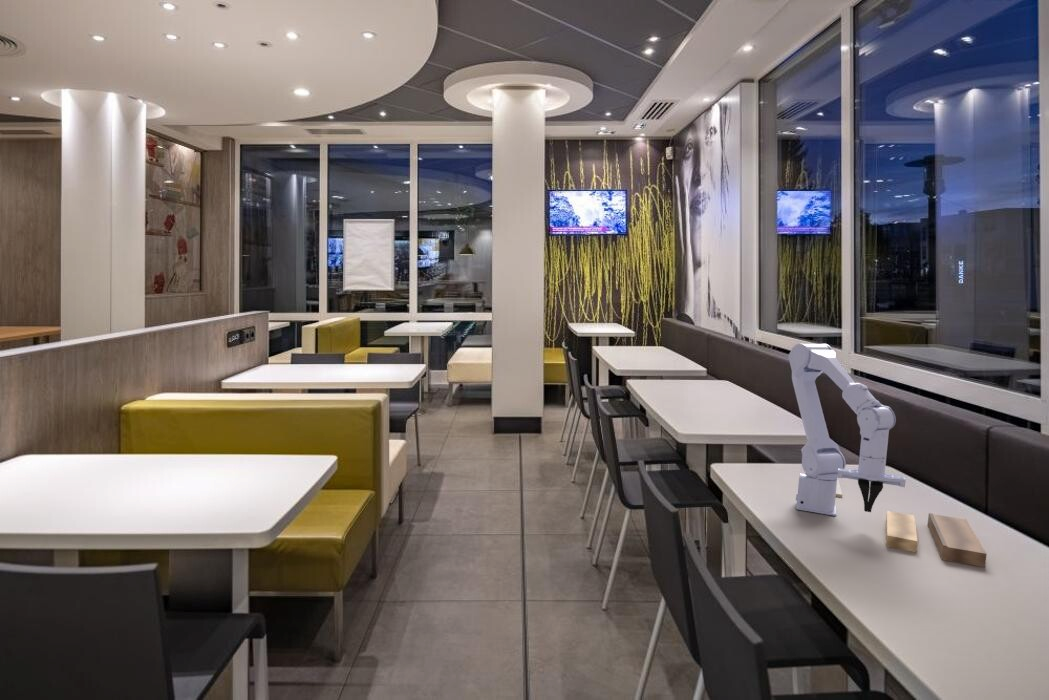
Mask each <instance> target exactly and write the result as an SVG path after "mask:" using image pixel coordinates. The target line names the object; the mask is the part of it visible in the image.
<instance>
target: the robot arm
mask: <svg viewBox="0 0 1049 700" xmlns="http://www.w3.org/2000/svg"><path fill="white" fill-rule="evenodd" d="M787 357H788V361H789V365H790V368H791V381H792V386H793V389H794V393H795V398H796V402H797V405H798V409H799V413H800V418H801V422H802V426H803V428H804V433H805V437H806V444H804V446H802V448H801V449H800V451H801V452H800V453H801V467H802V470H803V471H804V473H801V472H800V473H799V476H798V485H797V493H795V495H796V496H795V501H796V508H795V509H796V510H798V511H799V510H800V511H803V512H804V511H805V512H811V513H816V514H817V513H818V514H823V515H829V516H834V517H835V516H837V506H836V498H837V497H836V488H837V478H838V479H849V480H857V485H858V488H859V489H860V493H861V496H862V499H863V509H864V512H867V513H872V510H873V506H874V504H875V501H876V500H877V497H879V494H880V493H881V492H882V491H883V489H884V484H885V485H890V486H898V487H900V488H905V487H906V481H907V479H906V477H903V476H897V475H893V474H888V473H886V466H887V465H886V464H887V454H888V453H887V452H888V445H889V444H888V443H889V434H890V433H889V432H890V430H891V429H892V428H894V427H895V425H896V421H897V419H896V418H897V417H896V415H895V412H894V411H893V409H892V408H891V407H890V406H887V405H884V404H882V403H881V402H880V401H879V400H877V399H876V398H875V396H874V395H873V394H872V393H871V392H870V390H869V387H868V386H867V385H866V384H863V383H860V382H855V381H854V379H853V378H852V377H851V376H850V374H849V373H848V372H847V370H846V369H845V367H844V366H843V365H842V364H841V363H840V362H839V360H838V359H837V352H836V351H835V350H834V349H833V348H832V347H831V346H830V345H829V344H827V343H796V344H794V345H793V346H792V348H791V350H790V352H789V353H788V356H787ZM823 372H824V373H825V375H827V376H828V377H829V378H830V379H831V380H832V382H834V384H835V385H836V386H837V387H838V388H839V389H841V390H842V393H841V394H842V395H841V396H842V397H841V398H842V399H843V400H844V401H845V403H846V404H847V405H848V406H849V408H850V409H851V410H852V411H853V412H854V414H856V421H857V424H858V427H859V429H860V430H859V435H860V437H861V439H860V447H859V448H860V449H859V459H858V468H857V469H848V468H846V467H847V466H846V465H847V463H846V462H847V461H846V459H845V456H844V455H843V453H842V452H841V449H840V446H839V444H838V443H836V442H835V441H834V440H833V439H831V438H830V434H829V431H828V427H827V423H826V420H825V416H824V413H823V411H824V410H823V408H822V405H821V401H820V396H819V392H818V389H817V385H816V379H817V378H818V377H819V376H820V375H821V374H822V373H823Z"/></svg>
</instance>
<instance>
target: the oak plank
mask: <svg viewBox="0 0 1049 700" xmlns="http://www.w3.org/2000/svg"><path fill="white" fill-rule="evenodd" d="M885 547H887V548H893V549H897V550H898V549H899V550H903V551H908V552H914V553H917V550H918V534H917V527H916V519H915V515H914V514H907V513H903V512H902V513H900V512H896V511H889V510H887V511H886V517H885Z"/></svg>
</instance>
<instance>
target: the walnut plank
mask: <svg viewBox="0 0 1049 700" xmlns="http://www.w3.org/2000/svg"><path fill="white" fill-rule="evenodd" d="M927 518H928V519H927V528H928V529H929V533H930V535H931V537H932V539H933V542H934V545H935V547H936V549H937V551H938V554H939V557H940V559H941V560H944V561H950V562H953V563H958V564H959V563H960V564H964V565H970V566H976V567H981V568H986V562H987V561H986V560H987V552H986V550H985V549H984V546H983V545H982V544H981V542H980V540H979V539H978V537H977V535H976V534H975V532H974V530H973V528H972V526H971V525H970V523H969V521H968V520H967V519H966V518H959V517H952V516H946V515H941V514H940V515H939V514H934V513H931V512H928V517H927Z"/></svg>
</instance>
